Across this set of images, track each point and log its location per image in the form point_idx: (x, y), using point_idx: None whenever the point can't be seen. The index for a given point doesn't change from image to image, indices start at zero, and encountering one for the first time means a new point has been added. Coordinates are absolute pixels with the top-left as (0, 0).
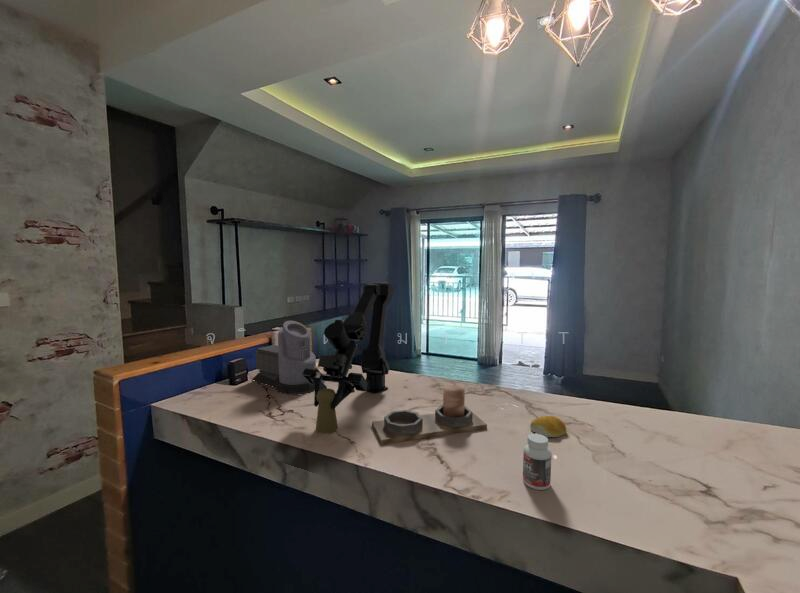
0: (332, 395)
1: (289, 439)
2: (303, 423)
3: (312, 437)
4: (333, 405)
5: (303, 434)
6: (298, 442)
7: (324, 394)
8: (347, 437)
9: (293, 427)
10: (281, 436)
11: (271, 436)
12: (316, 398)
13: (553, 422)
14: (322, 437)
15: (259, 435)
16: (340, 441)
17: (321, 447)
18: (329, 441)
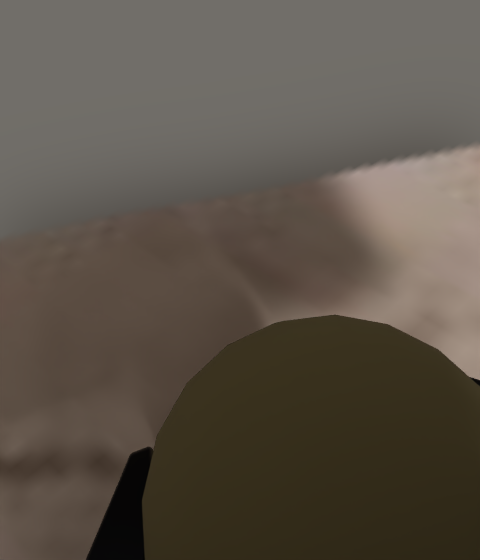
0: (145, 530)
1: (312, 214)
2: None
3: (229, 311)
4: (122, 479)
5: (308, 299)
6: (241, 225)
7: (233, 364)
8: (18, 479)
9: (447, 315)
10: (379, 207)
11: (416, 176)
12: None
13: None
14: (175, 354)
15: (470, 147)
16: (24, 399)
17: (80, 270)
18: (92, 349)
